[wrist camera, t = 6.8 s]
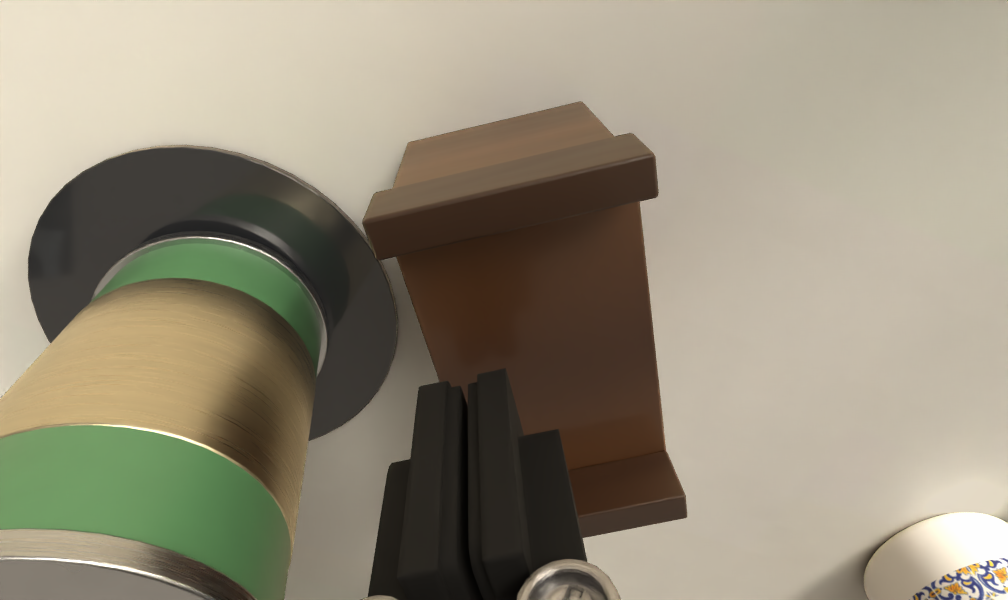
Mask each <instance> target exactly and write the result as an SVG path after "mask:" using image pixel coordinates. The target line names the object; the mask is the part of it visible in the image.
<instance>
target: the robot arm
mask: <svg viewBox="0 0 1008 600" xmlns="http://www.w3.org/2000/svg"><path fill="white" fill-rule="evenodd" d="M361 600H621V598H620V596H619V594H618V591H617V589H616V587H615V586H614V584H613V583H612V581H611V579H610V578H609V576H608V575H606V574H605V573H604V572H603V571H602V570H601V569H599V568H598V567H597V566H595V565H592V564H590V563H588V562H587V558H586V553H585V548H584V544H583V539H582V534H581V529H580V524H579V519H578V515H577V510H576V505H575V500H574V495H573V491H572V486H571V481H570V477H569V472H568V468H567V463H566V459H565V454H564V450H563V445H562V441H561V437H560V432H559V429H555V430H550V431H545V432H540V433H535V434H530V435H526V436H524V433H523V429H522V425H521V422H520V418H519V414H518V411H517V407H516V403H515V399H514V396H513V392H512V388H511V385H510V381H509V377H508V374H507V371H506V369H505V368H504V369H499V370H494V371H490V372H485V373H480V374H478V375H477V382H475V383H470V384H468V406H467V403H466V400H465V396H464V393H463V391H462V388H461V386H456V387H451V385H450V383H449V381H443V382H438V383H433V384H429V385H424V386H420V387H419V390H418V397H417V406H416V414H415V423H414V432H413V441H412V449H411V458H410V459H409V460H404V461H399V462H395V463H391V465H390V466H389V469H388V473H387V479H386V485H385V491H384V498H383V504H382V510H381V517H380V523H379V529H378V536H377V542H376V548H375V555H374V561H373V567H372V574H371V580H370V586H369V593H368V597H366V598H363V599H361Z"/></svg>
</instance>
